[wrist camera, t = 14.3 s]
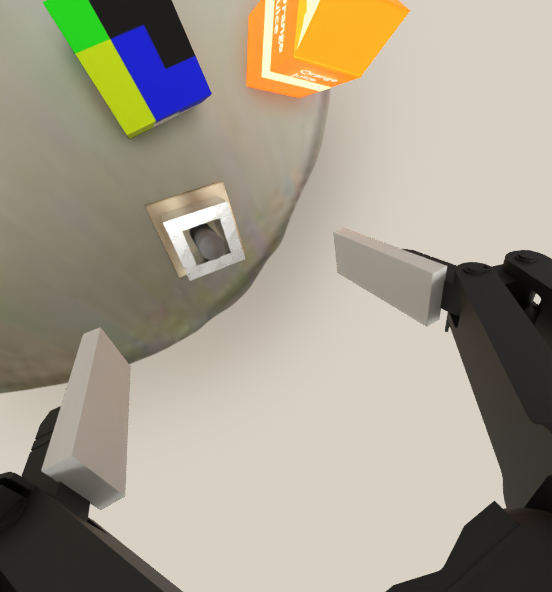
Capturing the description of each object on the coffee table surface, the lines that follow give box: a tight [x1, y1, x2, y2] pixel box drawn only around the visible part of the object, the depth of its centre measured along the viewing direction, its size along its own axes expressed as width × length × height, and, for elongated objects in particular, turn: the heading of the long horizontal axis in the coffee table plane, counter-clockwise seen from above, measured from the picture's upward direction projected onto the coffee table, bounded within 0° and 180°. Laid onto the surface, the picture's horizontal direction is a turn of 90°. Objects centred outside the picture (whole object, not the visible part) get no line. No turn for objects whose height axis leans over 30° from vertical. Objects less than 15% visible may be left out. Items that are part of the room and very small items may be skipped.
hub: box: [160, 196, 245, 281], centre depth 41 cm, size 9×9×6 cm
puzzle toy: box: [43, 0, 212, 139], centre depth 29 cm, size 10×10×10 cm
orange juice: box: [246, 0, 410, 98], centre depth 30 cm, size 8×9×20 cm
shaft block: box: [145, 182, 245, 278], centre depth 40 cm, size 12×12×10 cm
